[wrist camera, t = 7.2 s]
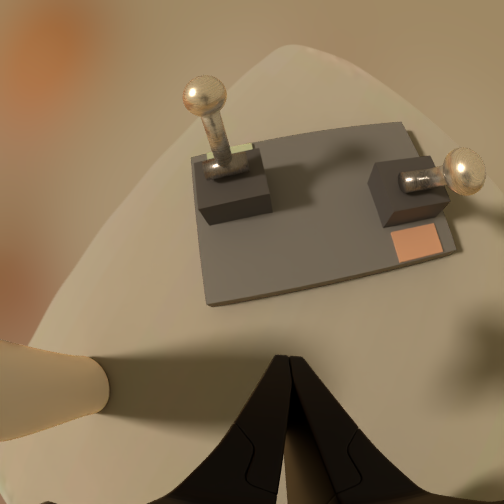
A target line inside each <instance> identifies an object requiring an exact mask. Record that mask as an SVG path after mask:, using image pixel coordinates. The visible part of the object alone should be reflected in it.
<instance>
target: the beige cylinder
mask: <svg viewBox="0 0 504 504" xmlns="http://www.w3.org/2000/svg"><path fill="white" fill-rule="evenodd" d="M109 392H110V391H109V382H108V379H107V376H106V374H105V372H104V370H103V369H102V367H101V366H100V365H99V364H98V363H97V362H96V361H95V360H93V359H91V358H89V357H86V356H74V355H67V354H61V353H56V352H51V351H46V350H42V349H37V348H33V347H28V346H24V345H20V344H16V343H13V342H9V341H5V340H1V339H0V442H3V441H8V440H13V439H17V438H21V437H24V436H27V435H31V434H34V433H37V432H40V431H43V430H46V429H49V428H52V427H55V426H57V425H60V424H63V423H66V422H69V421H72V420H75V419H77V418H80V417H83V416H87V415H91V414H95V413H97V412H99V411H101V410H102V409H103V408H104V407H105V405H106V404H107V402H108V398H109Z"/></svg>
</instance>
